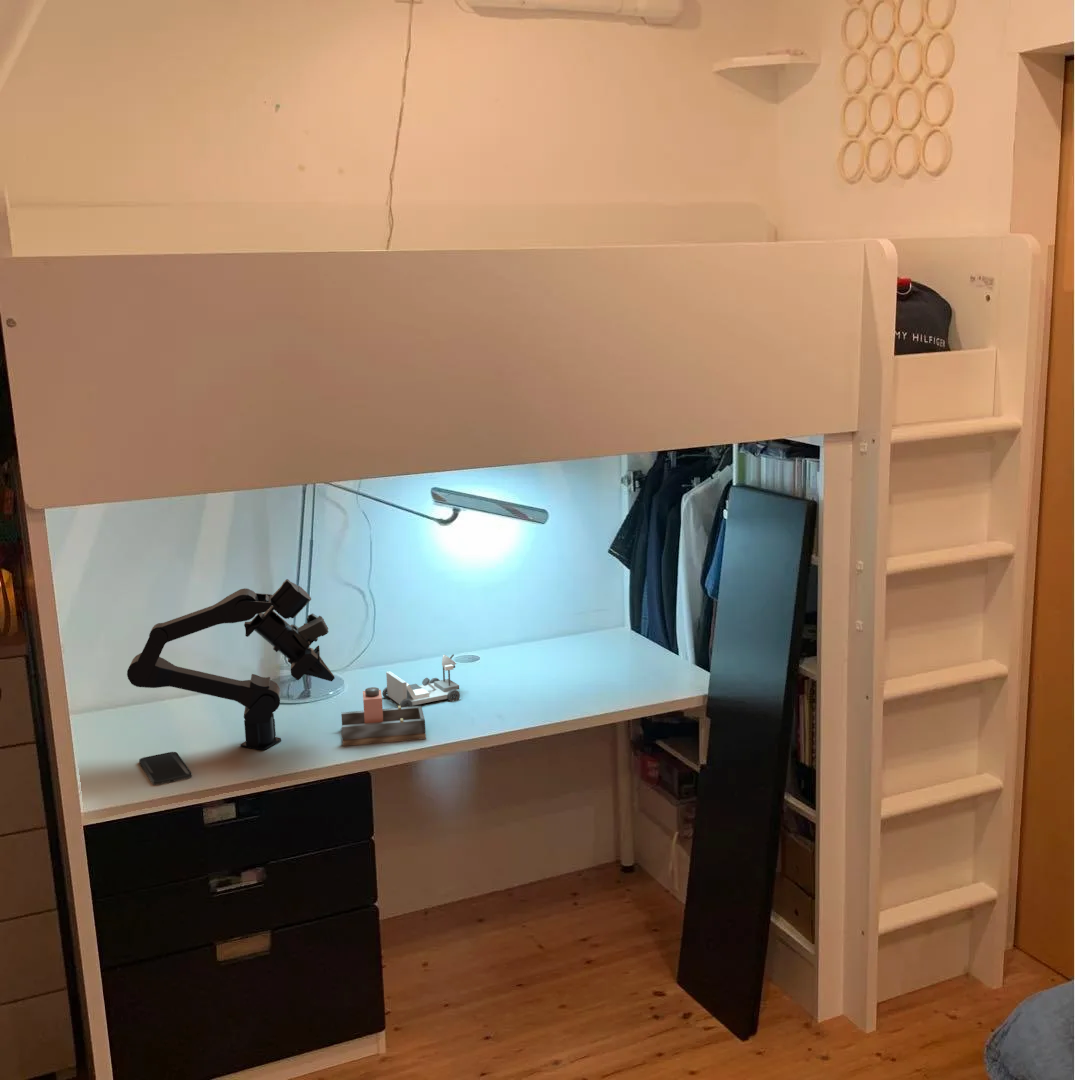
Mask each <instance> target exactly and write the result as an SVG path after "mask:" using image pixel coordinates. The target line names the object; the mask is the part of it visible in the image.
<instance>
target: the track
mask: <svg viewBox="0 0 1075 1080" xmlns="http://www.w3.org/2000/svg"><path fill="white" fill-rule="evenodd" d="M340 714H341V715H340V716H341V733H342V736H341V737H342V746H344V747H345V746H346V747H347V746H355V745H357V746H359V745H368V744H369V745H370V744H379V743H380V744H381V743H390V742H393V743H394V742H401V741H414V740H426V739H427V734H426V720H425V715H424V711H423V707H422V705H413V706H412V707H402V708H401V706H400V705H397V707H391V708H383V722H375V723H365V722H364V710H354V711H341V713H340Z"/></svg>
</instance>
